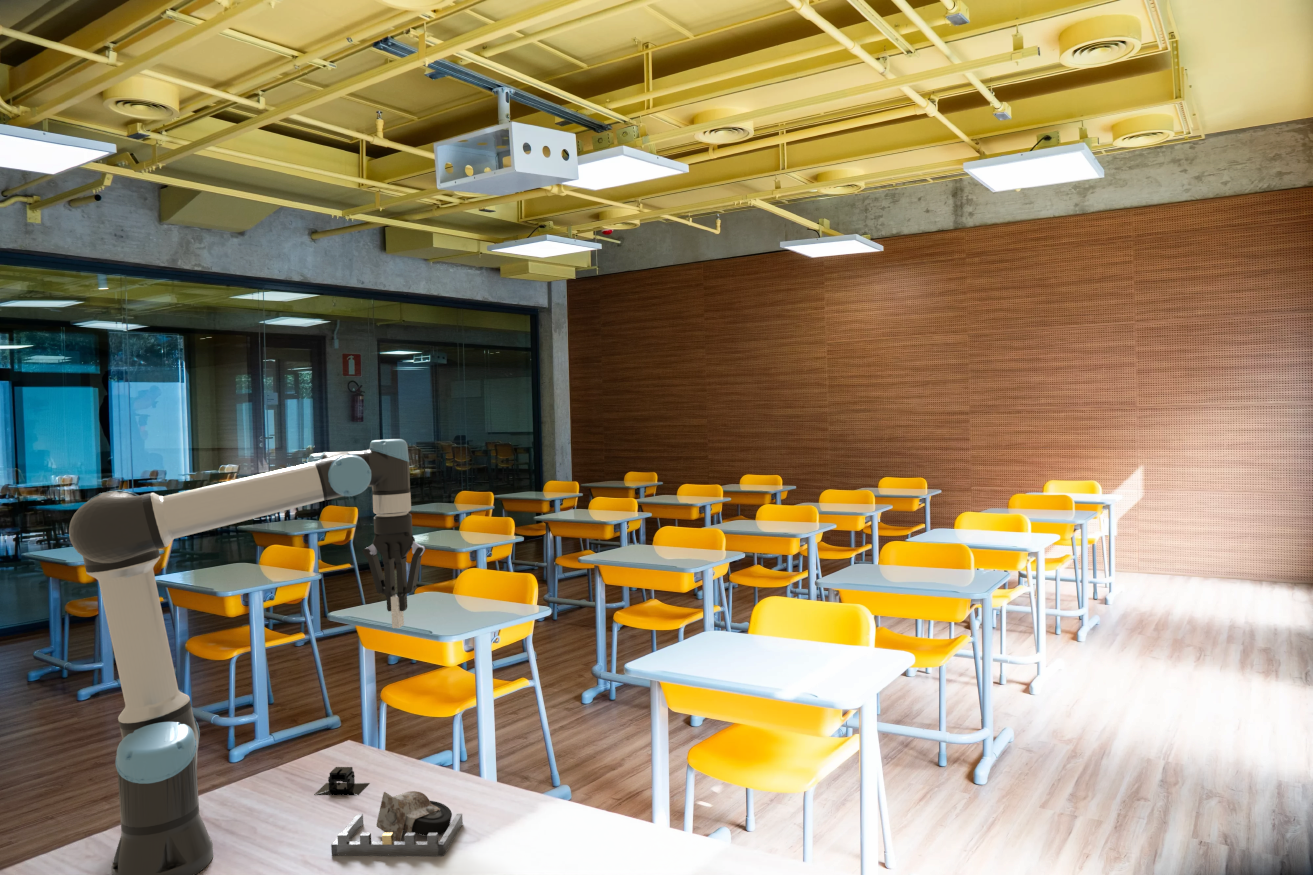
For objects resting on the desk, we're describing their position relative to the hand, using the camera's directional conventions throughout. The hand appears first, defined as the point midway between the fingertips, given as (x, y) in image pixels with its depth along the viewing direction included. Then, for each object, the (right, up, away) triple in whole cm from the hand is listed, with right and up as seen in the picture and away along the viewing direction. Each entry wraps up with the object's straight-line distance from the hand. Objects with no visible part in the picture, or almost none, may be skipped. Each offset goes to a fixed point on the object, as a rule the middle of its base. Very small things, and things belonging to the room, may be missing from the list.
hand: (398, 626), depth 176 cm
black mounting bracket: (-11, -34, -2) cm, 35 cm away
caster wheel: (+10, -33, -20) cm, 40 cm away
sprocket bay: (+7, -33, -24) cm, 41 cm away
